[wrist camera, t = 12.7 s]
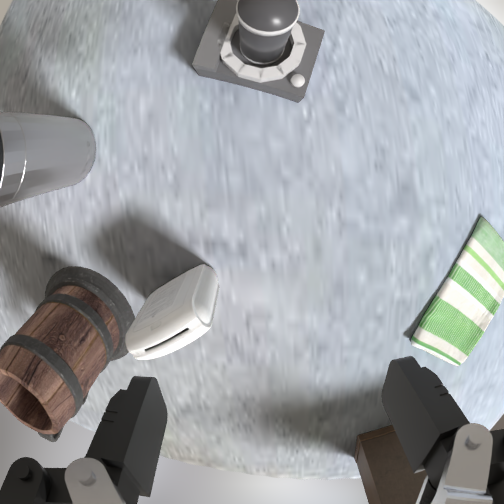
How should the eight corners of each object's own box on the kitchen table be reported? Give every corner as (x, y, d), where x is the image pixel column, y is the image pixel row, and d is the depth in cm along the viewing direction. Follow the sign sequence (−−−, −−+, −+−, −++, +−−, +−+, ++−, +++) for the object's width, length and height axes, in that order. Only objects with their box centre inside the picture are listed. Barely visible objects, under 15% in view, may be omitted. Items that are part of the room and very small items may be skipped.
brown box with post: (353, 464, 55) (384, 582, 22) (357, 435, 51) (400, 576, 17) (422, 441, 54) (468, 544, 21) (435, 408, 50) (498, 525, 17)
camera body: (199, 75, 30) (192, 64, 25) (222, 14, 27) (219, -4, 23) (298, 102, 32) (306, 95, 27) (318, 40, 29) (328, 26, 24)
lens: (234, 59, 27) (228, 24, 17) (246, 23, 25) (246, -21, 16) (278, 70, 27) (291, 39, 18) (289, 34, 26) (305, -6, 16)
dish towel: (518, 263, 40) (527, 268, 37) (454, 361, 46) (460, 369, 44) (477, 215, 37) (488, 219, 34) (401, 337, 43) (408, 346, 40)
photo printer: (163, 317, 40) (138, 375, 28) (145, 293, 39) (112, 346, 27) (225, 284, 39) (217, 340, 27) (206, 257, 37) (190, 305, 26)
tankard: (44, 252, 37) (-46, 315, 18) (143, 286, 39) (78, 387, 20) (51, 365, 44) (1, 438, 25) (131, 397, 46) (98, 487, 27)
